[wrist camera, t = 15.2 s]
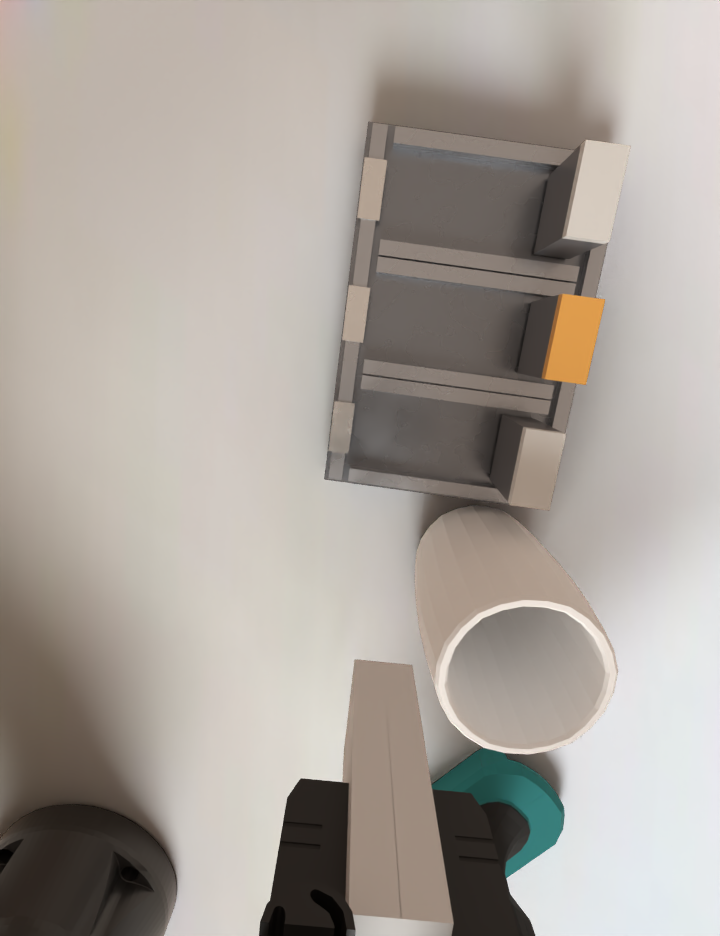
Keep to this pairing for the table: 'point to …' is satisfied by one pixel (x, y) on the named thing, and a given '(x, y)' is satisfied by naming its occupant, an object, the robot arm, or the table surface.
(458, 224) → the panel
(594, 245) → the block
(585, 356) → the block
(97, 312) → the table surface
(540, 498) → the block
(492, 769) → the power drill
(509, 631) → the cup
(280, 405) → the table surface
